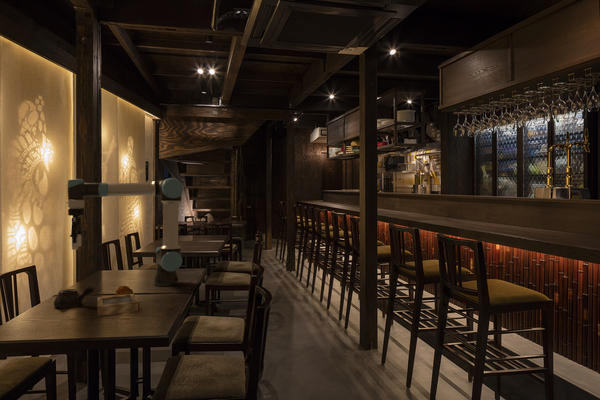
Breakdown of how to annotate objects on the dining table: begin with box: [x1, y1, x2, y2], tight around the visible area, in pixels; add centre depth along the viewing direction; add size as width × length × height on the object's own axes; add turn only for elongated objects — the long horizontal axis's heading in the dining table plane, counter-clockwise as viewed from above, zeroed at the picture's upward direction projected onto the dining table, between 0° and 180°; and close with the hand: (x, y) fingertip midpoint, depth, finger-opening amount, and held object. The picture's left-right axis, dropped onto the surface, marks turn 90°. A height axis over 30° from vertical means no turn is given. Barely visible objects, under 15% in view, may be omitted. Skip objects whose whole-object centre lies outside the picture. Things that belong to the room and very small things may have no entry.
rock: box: [114, 285, 134, 296], centre depth 215 cm, size 11×8×10 cm
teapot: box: [53, 285, 95, 309], centre depth 204 cm, size 19×15×10 cm
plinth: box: [97, 293, 139, 317], centre depth 199 cm, size 17×19×4 cm
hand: (76, 247), depth 219 cm, fingers open, 13 cm apart
